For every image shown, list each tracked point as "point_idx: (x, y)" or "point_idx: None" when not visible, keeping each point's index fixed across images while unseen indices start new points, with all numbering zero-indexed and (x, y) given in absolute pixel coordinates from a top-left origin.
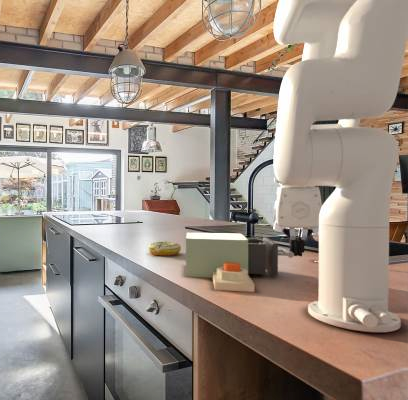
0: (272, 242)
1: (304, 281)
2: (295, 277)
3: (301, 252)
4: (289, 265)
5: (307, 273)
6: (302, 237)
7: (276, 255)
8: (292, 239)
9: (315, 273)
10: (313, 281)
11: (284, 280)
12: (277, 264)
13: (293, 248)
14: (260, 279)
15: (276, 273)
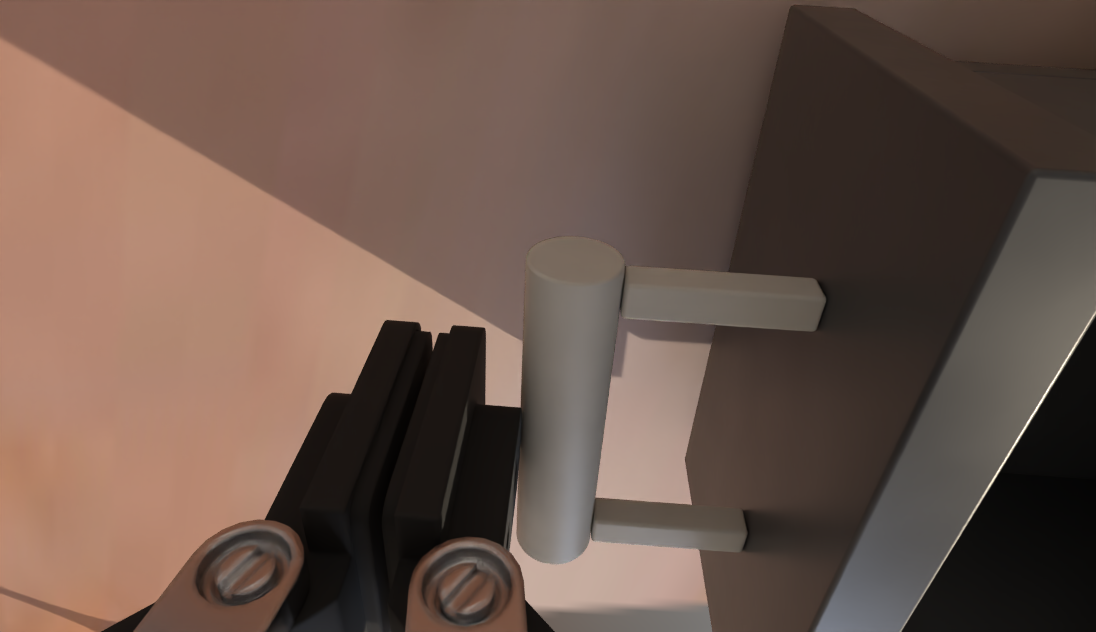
0: (990, 407)
1: (466, 4)
2: (512, 186)
3: (382, 350)
4: None
5: (355, 354)
6: (269, 576)
7: (926, 81)
8: (488, 546)
9: (285, 361)
10: (364, 21)
11: (687, 21)
12: (846, 40)
13: (482, 434)
14: (968, 31)
15: (818, 12)
